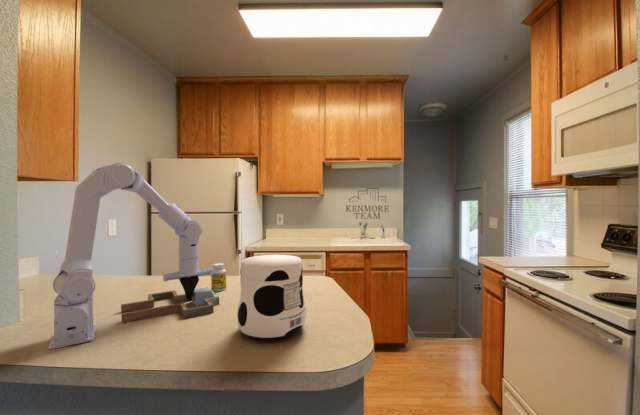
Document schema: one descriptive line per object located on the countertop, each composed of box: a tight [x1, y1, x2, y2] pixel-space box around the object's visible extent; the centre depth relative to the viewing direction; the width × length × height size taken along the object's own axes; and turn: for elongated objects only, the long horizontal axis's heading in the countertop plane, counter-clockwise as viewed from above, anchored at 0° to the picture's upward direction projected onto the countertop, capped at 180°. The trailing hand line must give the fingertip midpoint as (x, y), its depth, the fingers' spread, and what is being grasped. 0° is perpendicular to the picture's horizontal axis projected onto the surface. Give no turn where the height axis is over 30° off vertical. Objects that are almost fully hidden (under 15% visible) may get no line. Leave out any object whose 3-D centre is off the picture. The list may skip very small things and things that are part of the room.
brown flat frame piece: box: [120, 290, 220, 323], centre depth 91 cm, size 23×26×2 cm
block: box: [191, 286, 212, 307], centre depth 96 cm, size 5×5×4 cm
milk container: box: [236, 254, 307, 341], centre depth 75 cm, size 17×17×18 cm
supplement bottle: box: [210, 262, 227, 292], centre depth 110 cm, size 5×5×10 cm
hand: (189, 300), depth 94 cm, fingers closed
